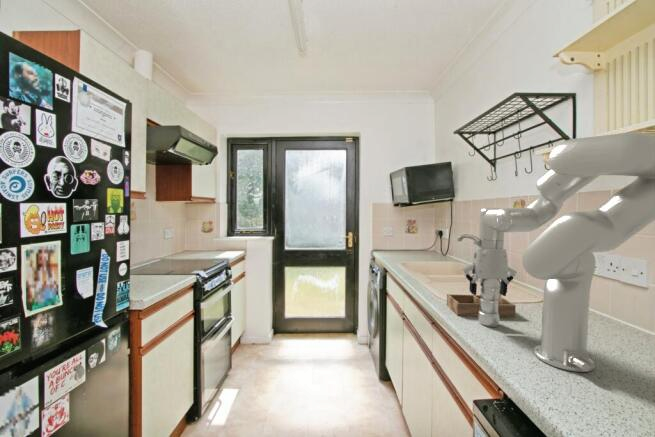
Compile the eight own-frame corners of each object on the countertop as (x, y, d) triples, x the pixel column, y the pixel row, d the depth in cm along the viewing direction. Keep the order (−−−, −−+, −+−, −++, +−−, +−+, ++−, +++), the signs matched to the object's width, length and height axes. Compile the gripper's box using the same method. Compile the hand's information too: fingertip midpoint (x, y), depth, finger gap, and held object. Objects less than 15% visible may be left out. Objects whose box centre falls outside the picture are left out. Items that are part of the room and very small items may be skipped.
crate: (515, 318, 109) (515, 305, 109) (457, 317, 110) (457, 303, 110) (498, 308, 121) (499, 295, 121) (446, 306, 122) (447, 294, 122)
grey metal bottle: (488, 321, 107) (490, 265, 106) (504, 328, 100) (506, 269, 99) (473, 322, 105) (475, 265, 104) (487, 330, 99) (489, 270, 98)
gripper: (468, 245, 98) (466, 296, 100) (523, 247, 97) (520, 298, 99) (460, 242, 106) (457, 290, 107) (511, 243, 105) (508, 291, 106)
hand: (487, 294), depth 103 cm, fingers open, 9 cm apart
